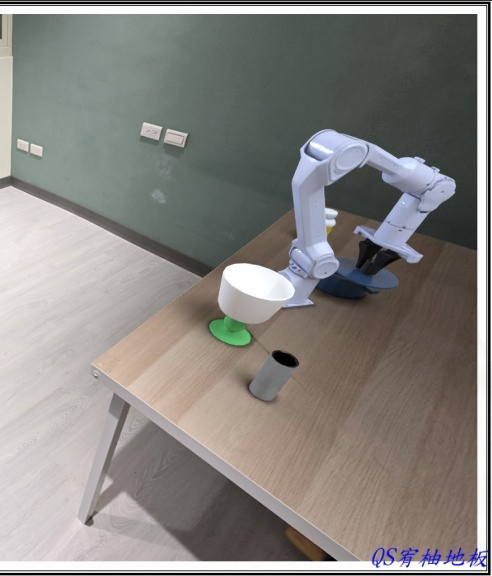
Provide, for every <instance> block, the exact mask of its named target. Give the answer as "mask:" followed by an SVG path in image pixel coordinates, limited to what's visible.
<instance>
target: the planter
mask: <svg viewBox="0 0 492 576" xmlns="http://www.w3.org/2000/svg"><path fill="white" fill-rule="evenodd" d="M299 366H300V361H299V359H298V358H297V357H296V356H295V355H294V354H292V353H290V352H288V351H286V350H281V349H276V350H273V351H271V353H270V354H269V356H268V357H267V359H266V361H265V362H263V364H262V366H261V368H260V369H259V370H258V372H257V374H256V375H255V377H254V378H253V380H251V382H250V384H249V386H248V387H249V388H248V389H249V392H250V393H251V394H252V395H253V396H255V397H256V398H257V399H259V400H261V401H264V402H265V401H266V402H271V401H273V400H274V399H275V398H276V396H277V395H278V394H279V392H280V391H281V390H282V388H283V387H284V386H285V385H286V384H287V382H288V381H289V379H290V378H291V377H292V376H293V374H294V373H295V372H296V370H298V368H299Z"/></svg>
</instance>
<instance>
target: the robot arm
mask: <svg viewBox="0 0 492 576" xmlns="http://www.w3.org/2000/svg"><path fill="white" fill-rule="evenodd" d="M299 151H300V160H299V161H298V165H297V167H296V169H295V172H294V175H293V177H292V180H291V191H292V199H293V209H294V219H295V228H296V238H295V239H293V240H292V241H291V246H290V249H289V251H288V256H289V259H290V260H289V261H288V263H289V265H288V266H287V267H285V268H284V269H282V270H278V271H276V272H277V273H278V274H280V275H282V276H284V277H285V278H286V279H287V280H288V281H290V282H291V284H292V286H293V287H294V289H295V292H294V295H293V297H292V298H291V299H290V300H289V301H288V302H287V303H286V304H284V305H283V306H282V307H281V308H289V307H299V306H307V305H308V306H309V305H314V302H313V301H312V300H310V299H309V298H310V295H311V294H312V293H313V291H314V290H315V288H316V287H317V286H316V285H317V284H318V282H319V281H320V279H324V278H326V277H329V276H331V275H332V274H333V273H335V272H336V270H337V269H338V267H339V261H338V260H337V259H336V258H337V257H336V256H335V252H334V249H332V247H331V245H330V243H329V241H328V237H327V233H326V215H325V208H326V197H325V187H327V186H330V185H331V184H334V183H335V182H336V181H338V180H339V179H341V178H342V177H344V176H345V175H347V174H348V173H350V172H352V171H353V170H354V169H355V168H357V169H358V168H359V169H360V168H362V167H363V166H364V165H365V164H366V165H368V166H370V167H372V168H374V169H376V170H378V171H380V172H382V173H381V179H382V180H383V181H384V183H386V184H389V185H390V186H392V187H394V188H396V189H398V190H399V191H401V192H402V193H403V194H402V195H401V196H400V197H399V199H398V201H397V202H396V204H395V205H394V206H393V207H392V209H391V211H390V212H389V213H388V215H387V216H386V217H385V219H384V220H383V222H382V223H381V224H380V226H379V227H378V228H377V230H376V229H374V228H371V227H368V226H366V225H357V226H356V228H355V229H354V231H353V234H355V235H359V236H362V237H363V238H365V239H363V240H359V242H358V256H357V259H358V261H357V264H356V267H355V268H357V269H360V268H361V266H362V265H363V263H364V262H365V261H366V259H367V258H372V259H375V260H374V262H373V264H372V265H371V266H370V268H369V269H368V270H367V272H366V274H367V275H375V274H376V273H378V272H379V271H380V270H381V269H383V268H384V269H385V268H386V267H387V266H389V265H390V264H393V263H394V262H396V261H399V260H401V259H404V260H406V262H407V263H409V264H417V263H419V262H420V260H421V259H422V258H423V257H424V255H423V254H422V253H419V252H418V251H416V250H415V249H414V248H412V247H411V246H410V245H409V244H408V243H407V241H408V240H409V239H410V238H411V236H412V235H414V233H415V231H416V230H417V229H418V227H419V226H420V225H421V224H422V223H423V221H424V220H425V219H426V217H427V216H428V215H429V214H430V213H431V212H433V211H434V210H436V209H437V208H438V207H439V206H440V205H441V204H442V203H444V202H445V201H447V200H449V199H451V197H453V196H454V194H455V193H456V191H455V190H456V187H457V184H456V180H455V179H453V178H452V177H449V176H447V175H445V174H443V173H440V171H441V170H440V169H439V168H437V167H435V166H431V167H430V166H428V165H426V164H424V163H425V162H426V160H425V159H423V158H421V157H418V156H414V157H411V156H410V157H408V156H405V157H400V158H398V157H395V156H394V155H393V154H391V153H390V152H388V151H386V150H385V149H383V148H382V147H380V146H378V145H376V144H374V143H372V142H369V141H367V140H364V139H361V138H358V137H355V136H351V135H349V134H345V133H340V132H337V131H336V130H334V129H330V128H329V129H328V128H327V129H322V130H320V131H318V132H315V134H313V135H311V137H310V138H309V139H308V140H307V141H306V142H305V143H304V144H303V145H302V147H300V149H299ZM382 249H386V250H382ZM374 257H375V258H374Z"/></svg>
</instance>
